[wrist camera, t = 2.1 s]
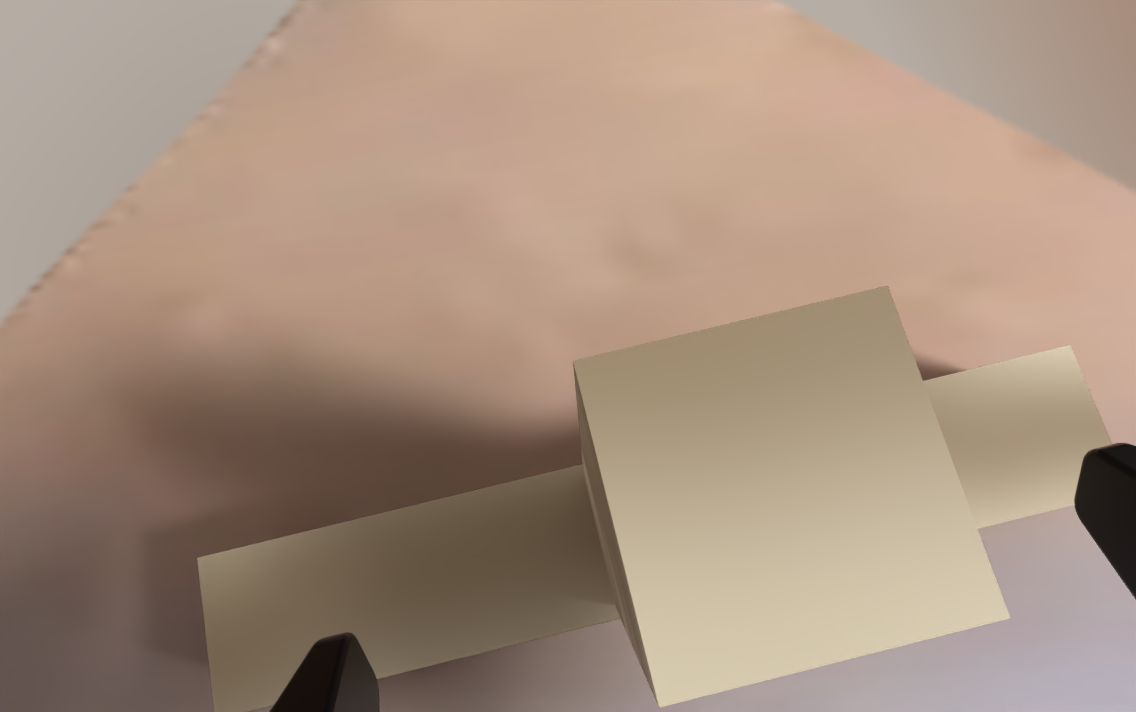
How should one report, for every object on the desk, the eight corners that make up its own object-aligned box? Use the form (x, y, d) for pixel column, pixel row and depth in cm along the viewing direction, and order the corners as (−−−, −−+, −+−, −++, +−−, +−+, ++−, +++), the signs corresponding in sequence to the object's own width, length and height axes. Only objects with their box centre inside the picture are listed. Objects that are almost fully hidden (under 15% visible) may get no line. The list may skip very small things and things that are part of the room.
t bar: (1042, 499, 17) (2063, 389, 5) (279, 690, 17) (-505, 1046, 5) (993, 377, 18) (1793, 38, 6) (261, 556, 18) (-457, 572, 6)
